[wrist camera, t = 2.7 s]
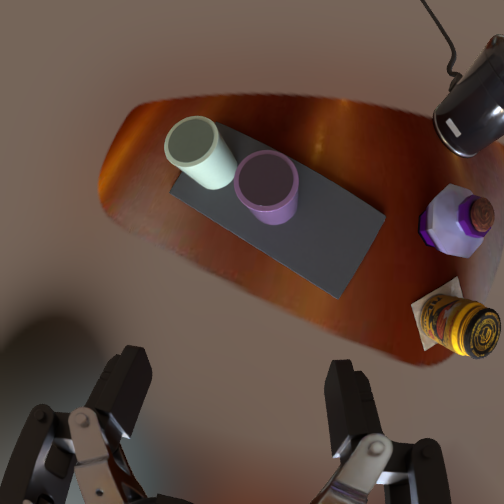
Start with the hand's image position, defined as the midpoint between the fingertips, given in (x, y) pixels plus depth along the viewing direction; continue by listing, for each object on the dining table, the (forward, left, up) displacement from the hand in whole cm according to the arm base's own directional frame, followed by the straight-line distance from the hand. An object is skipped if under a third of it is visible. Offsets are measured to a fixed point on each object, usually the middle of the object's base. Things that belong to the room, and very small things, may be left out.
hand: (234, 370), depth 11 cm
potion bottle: (-19, +13, -23) cm, 33 cm away
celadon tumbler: (-10, -16, -22) cm, 29 cm away
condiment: (-10, +21, -23) cm, 33 cm away
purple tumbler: (-10, -7, -22) cm, 25 cm away
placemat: (-10, -7, -23) cm, 26 cm away
